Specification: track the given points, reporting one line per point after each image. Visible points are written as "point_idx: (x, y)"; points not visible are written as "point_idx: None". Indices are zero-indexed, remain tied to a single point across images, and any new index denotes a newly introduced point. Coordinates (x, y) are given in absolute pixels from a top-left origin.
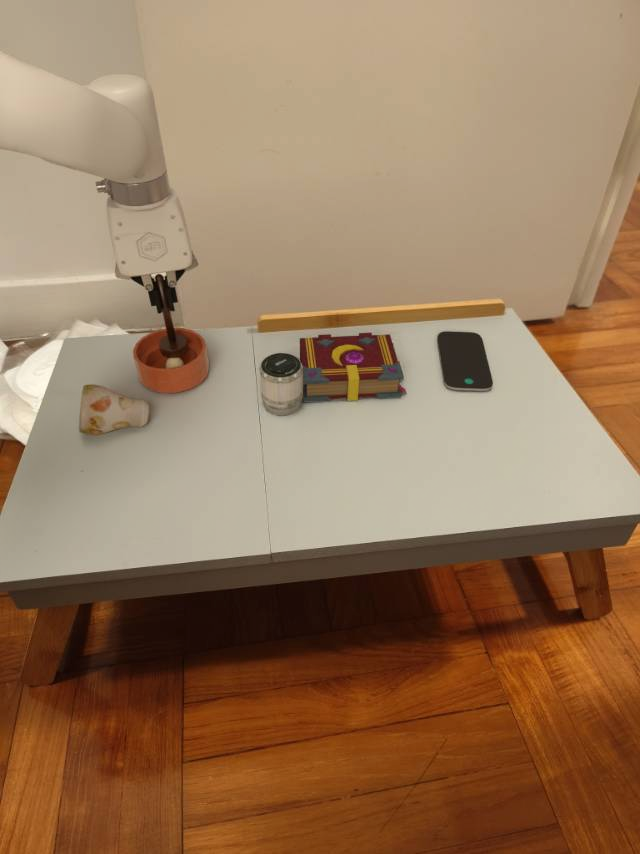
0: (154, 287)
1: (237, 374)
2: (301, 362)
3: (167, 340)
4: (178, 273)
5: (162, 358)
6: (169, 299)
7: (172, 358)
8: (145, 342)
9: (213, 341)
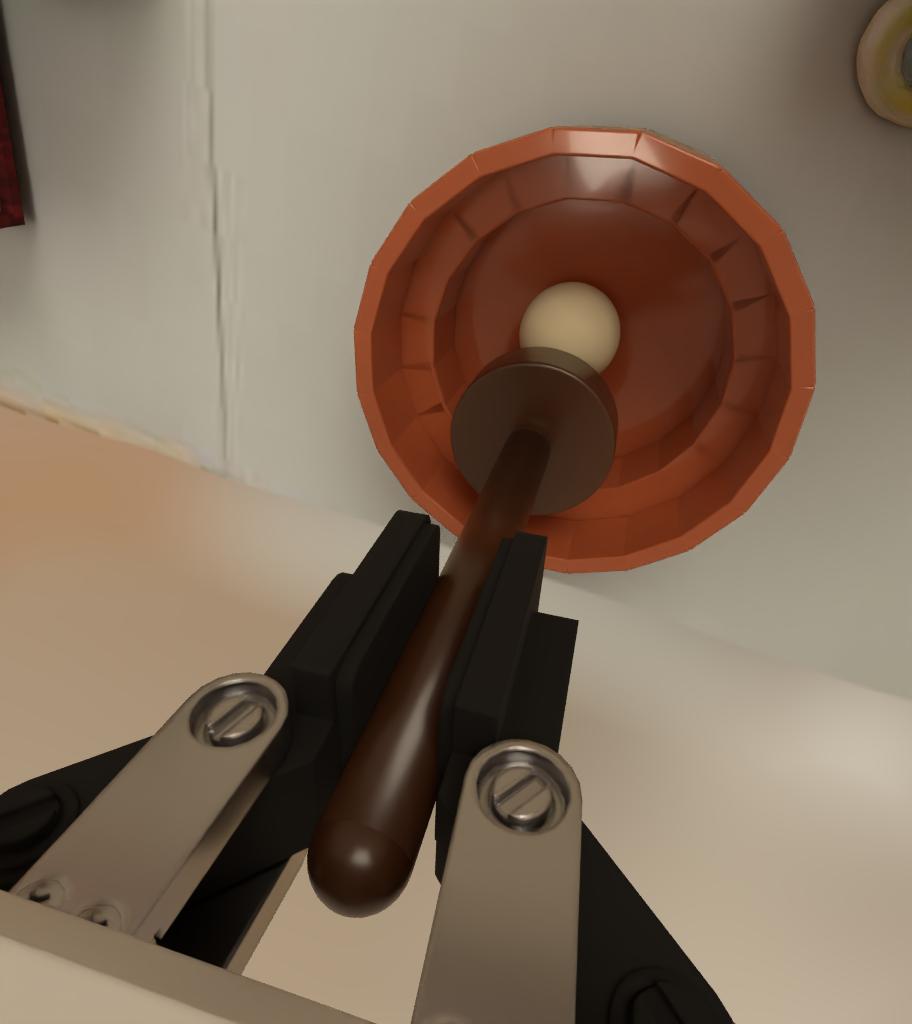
0: (464, 764)
1: (295, 211)
2: (2, 165)
3: (555, 471)
4: (86, 805)
5: None
6: (378, 584)
7: (567, 350)
8: (676, 523)
9: (373, 489)
